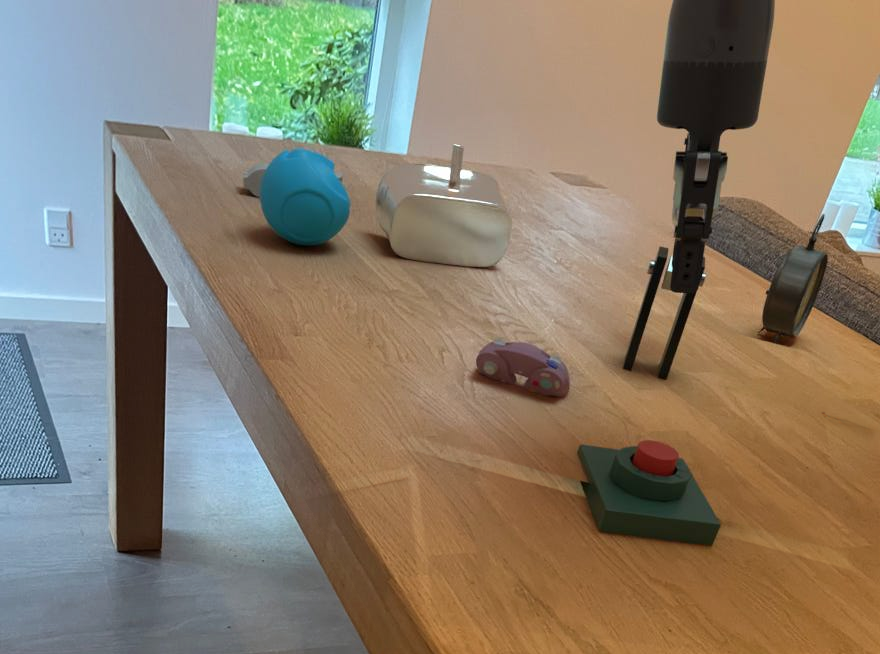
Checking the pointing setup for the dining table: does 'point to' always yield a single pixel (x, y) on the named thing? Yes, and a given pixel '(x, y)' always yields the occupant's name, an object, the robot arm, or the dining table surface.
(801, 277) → the alarm clock
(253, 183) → the bunny figurine
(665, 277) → the lever
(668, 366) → the bracket
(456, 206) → the vr headset
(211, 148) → the dining table surface
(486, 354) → the video game controller
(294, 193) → the teal rounded lump
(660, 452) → the button
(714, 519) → the box
